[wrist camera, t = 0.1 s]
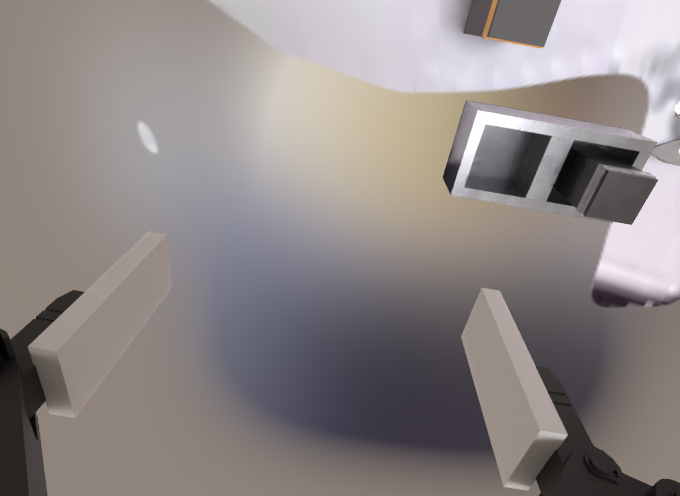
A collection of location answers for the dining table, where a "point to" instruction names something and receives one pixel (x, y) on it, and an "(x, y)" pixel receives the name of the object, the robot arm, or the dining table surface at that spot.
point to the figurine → (669, 147)
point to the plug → (512, 20)
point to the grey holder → (549, 164)
